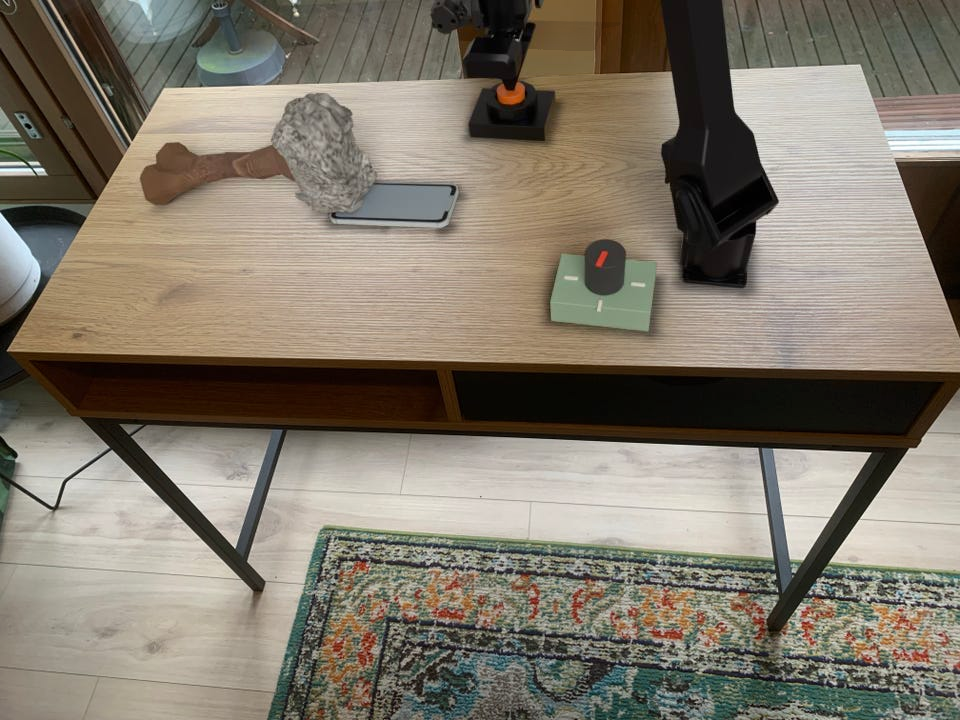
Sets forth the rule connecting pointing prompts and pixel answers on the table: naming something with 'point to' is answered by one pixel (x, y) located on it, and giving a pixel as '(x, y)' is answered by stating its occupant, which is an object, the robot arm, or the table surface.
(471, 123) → the button base
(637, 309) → the dial panel
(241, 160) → the hammer
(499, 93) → the button
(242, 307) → the table surface
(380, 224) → the smartphone
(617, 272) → the dial
